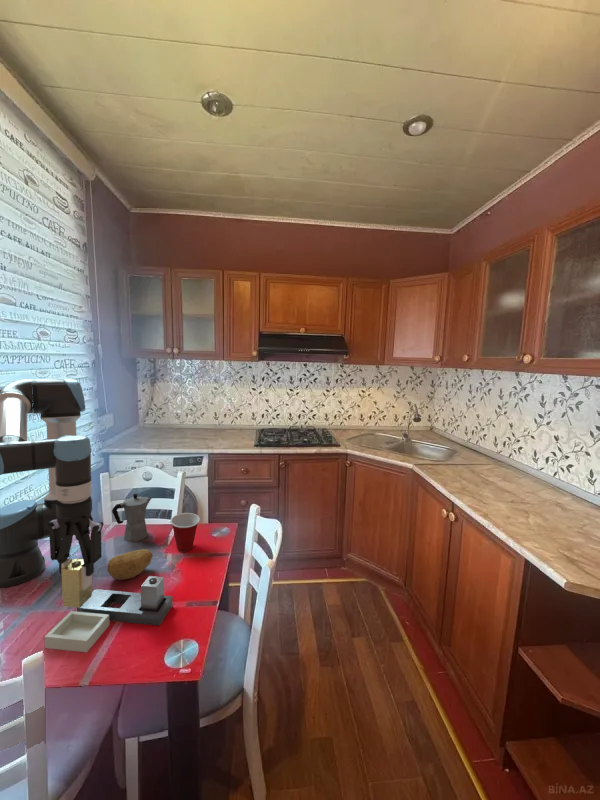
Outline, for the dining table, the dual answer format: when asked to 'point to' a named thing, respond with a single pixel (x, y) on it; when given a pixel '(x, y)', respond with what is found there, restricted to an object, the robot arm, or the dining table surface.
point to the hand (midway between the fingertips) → (77, 585)
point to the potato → (129, 564)
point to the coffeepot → (133, 517)
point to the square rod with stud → (152, 594)
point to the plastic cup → (185, 530)
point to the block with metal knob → (74, 585)
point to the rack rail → (125, 607)
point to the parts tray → (77, 631)
